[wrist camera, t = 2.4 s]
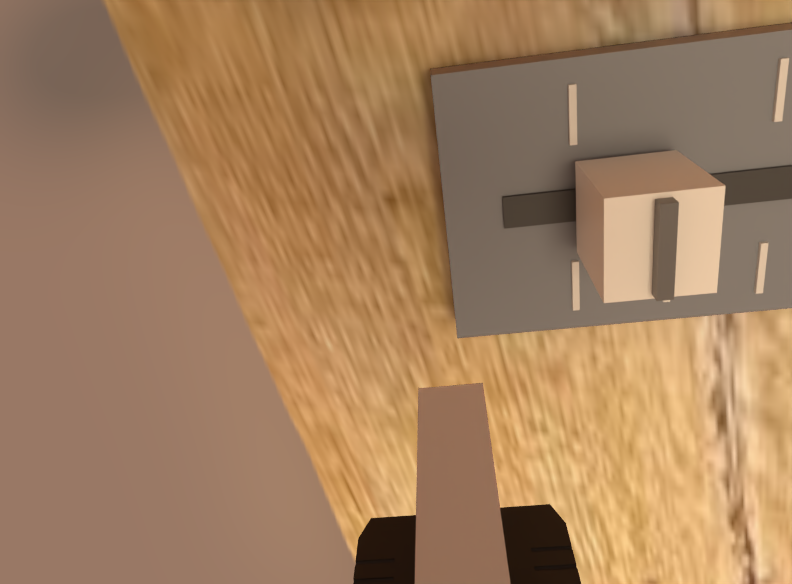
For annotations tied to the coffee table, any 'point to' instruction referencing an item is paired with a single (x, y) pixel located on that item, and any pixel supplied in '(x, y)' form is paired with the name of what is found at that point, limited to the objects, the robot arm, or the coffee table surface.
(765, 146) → the console board
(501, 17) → the coffee table surface
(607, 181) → the fader knob
